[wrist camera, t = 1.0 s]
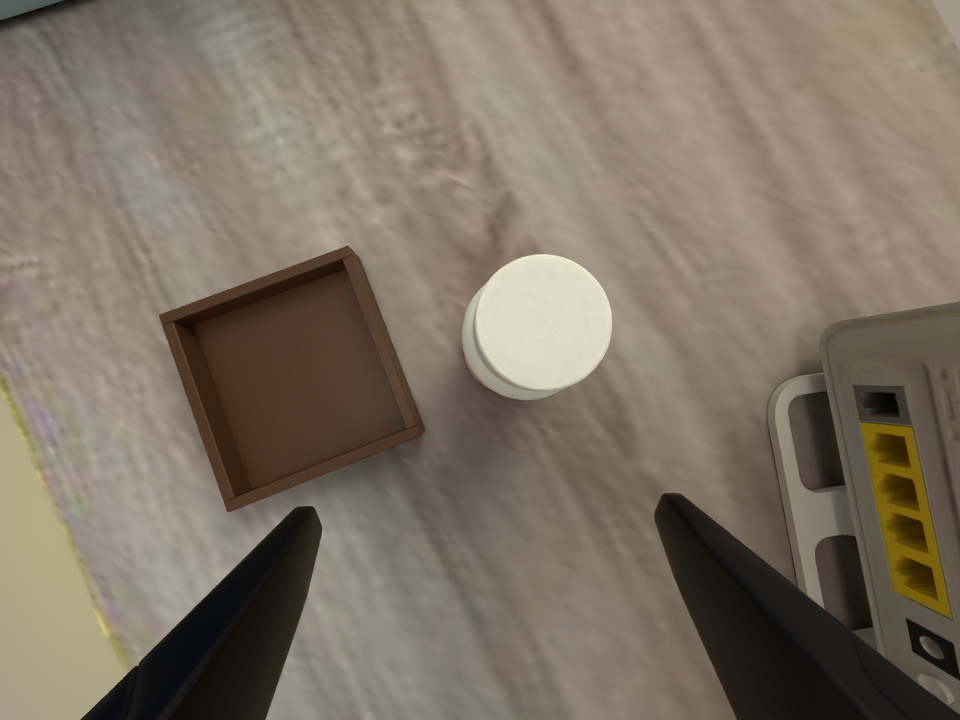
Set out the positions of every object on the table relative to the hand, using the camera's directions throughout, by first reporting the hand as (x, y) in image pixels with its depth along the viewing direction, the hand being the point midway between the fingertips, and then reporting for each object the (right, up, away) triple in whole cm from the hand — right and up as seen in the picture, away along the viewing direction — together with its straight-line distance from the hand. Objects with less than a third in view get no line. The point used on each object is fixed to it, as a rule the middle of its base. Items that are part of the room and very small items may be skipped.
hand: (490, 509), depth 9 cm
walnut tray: (-12, +3, +14) cm, 19 cm away
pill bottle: (+2, +5, +15) cm, 16 cm away
